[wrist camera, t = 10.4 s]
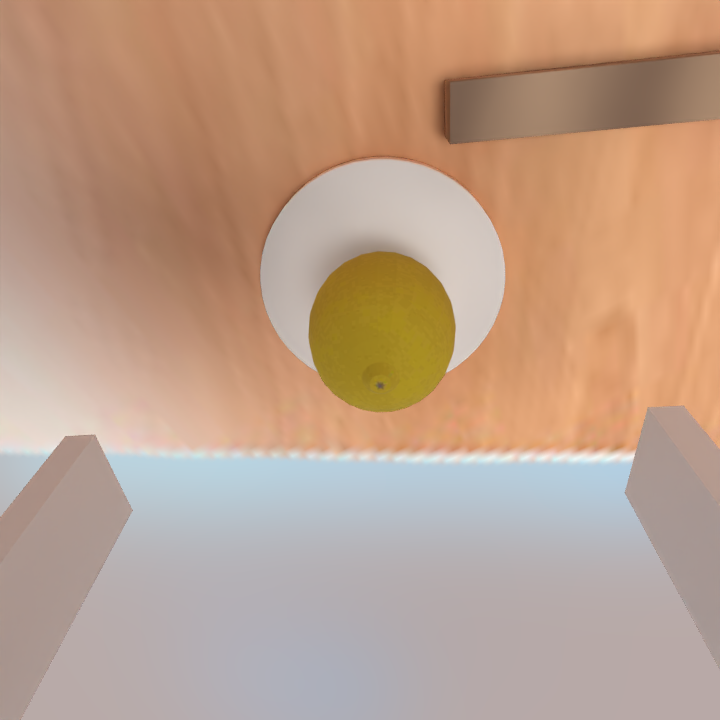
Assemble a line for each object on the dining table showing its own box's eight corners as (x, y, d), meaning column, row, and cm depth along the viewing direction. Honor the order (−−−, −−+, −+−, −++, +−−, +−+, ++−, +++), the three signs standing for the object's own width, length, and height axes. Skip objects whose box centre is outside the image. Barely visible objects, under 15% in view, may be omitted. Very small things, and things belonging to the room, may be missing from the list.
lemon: (296, 281, 22) (256, 374, 16) (392, 200, 20) (395, 265, 14) (374, 363, 24) (369, 478, 17) (468, 297, 22) (505, 396, 16)
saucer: (286, 384, 27) (283, 394, 26) (242, 168, 21) (236, 173, 20) (495, 373, 26) (499, 384, 25) (507, 144, 20) (513, 148, 19)
